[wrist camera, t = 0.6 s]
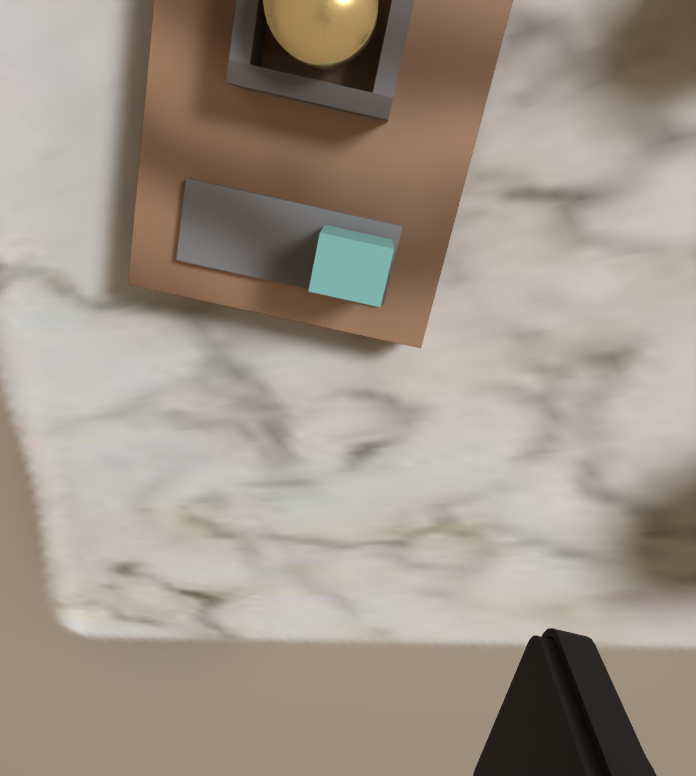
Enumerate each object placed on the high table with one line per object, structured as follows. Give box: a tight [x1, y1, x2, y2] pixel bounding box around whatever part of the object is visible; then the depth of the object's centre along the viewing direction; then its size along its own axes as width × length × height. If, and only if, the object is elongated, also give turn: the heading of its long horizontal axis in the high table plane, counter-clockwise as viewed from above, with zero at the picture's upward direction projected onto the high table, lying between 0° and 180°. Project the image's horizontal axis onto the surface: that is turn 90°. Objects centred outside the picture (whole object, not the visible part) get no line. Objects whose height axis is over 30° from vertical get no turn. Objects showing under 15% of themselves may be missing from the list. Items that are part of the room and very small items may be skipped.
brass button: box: [263, 0, 378, 70], centre depth 23 cm, size 4×4×2 cm
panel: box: [128, 0, 513, 348], centre depth 26 cm, size 25×14×5 cm, turn 168°
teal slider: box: [309, 225, 394, 307], centre depth 27 cm, size 2×3×3 cm
